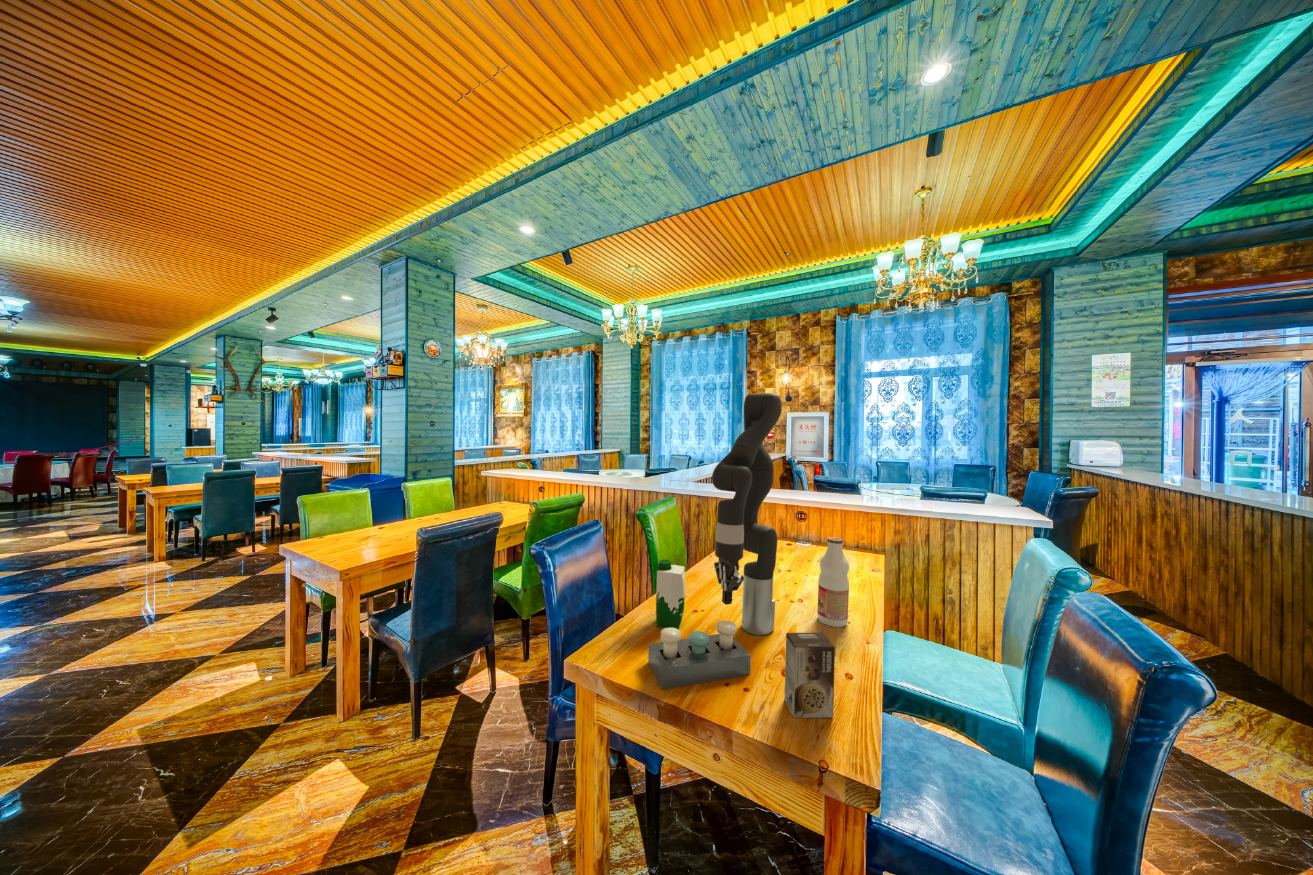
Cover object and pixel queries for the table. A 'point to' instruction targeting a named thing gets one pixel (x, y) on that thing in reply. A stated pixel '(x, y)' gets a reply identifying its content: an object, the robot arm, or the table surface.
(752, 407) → the robot arm
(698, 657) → the socket strip
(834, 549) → the fruit juice
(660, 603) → the milk carton
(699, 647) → the plug teal
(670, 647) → the ivory plug
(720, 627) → the ivory plug
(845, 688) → the table surface
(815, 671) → the coffee box
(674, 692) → the table surface
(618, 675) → the table surface
